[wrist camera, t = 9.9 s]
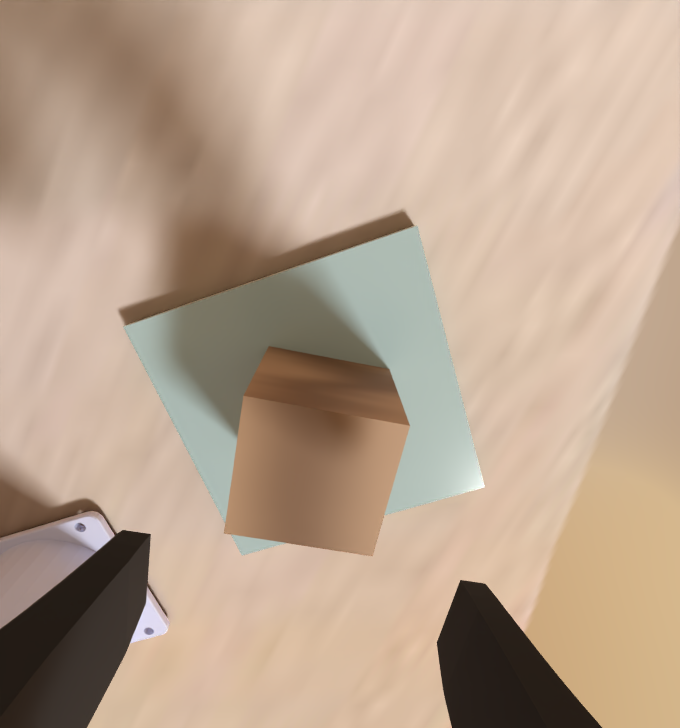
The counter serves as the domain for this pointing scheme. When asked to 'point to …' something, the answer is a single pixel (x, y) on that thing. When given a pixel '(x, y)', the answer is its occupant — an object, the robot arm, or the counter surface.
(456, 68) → the counter surface
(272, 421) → the walnut cube
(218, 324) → the ceramic tile
